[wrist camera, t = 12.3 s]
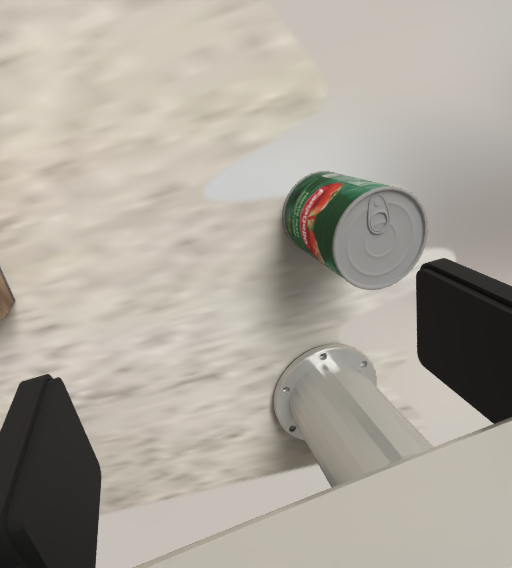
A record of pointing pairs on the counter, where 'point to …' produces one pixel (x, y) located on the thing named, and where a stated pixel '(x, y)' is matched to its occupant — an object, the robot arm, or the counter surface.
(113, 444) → the counter surface
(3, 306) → the socket block
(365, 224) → the canned tomato
